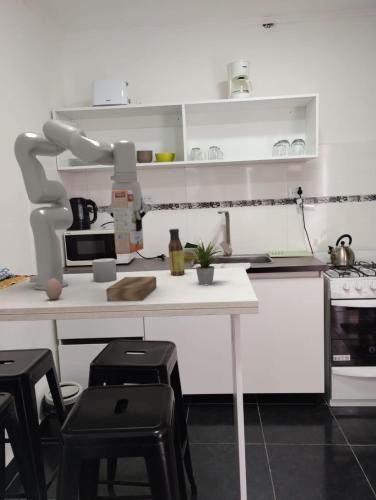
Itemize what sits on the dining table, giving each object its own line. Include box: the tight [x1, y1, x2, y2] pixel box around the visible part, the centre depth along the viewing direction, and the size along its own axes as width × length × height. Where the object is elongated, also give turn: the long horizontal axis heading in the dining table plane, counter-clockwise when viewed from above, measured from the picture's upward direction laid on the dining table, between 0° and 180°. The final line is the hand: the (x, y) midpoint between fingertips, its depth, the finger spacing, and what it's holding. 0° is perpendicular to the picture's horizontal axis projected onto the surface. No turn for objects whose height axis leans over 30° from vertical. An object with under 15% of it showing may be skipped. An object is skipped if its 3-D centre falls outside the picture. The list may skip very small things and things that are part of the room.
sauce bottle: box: [167, 228, 186, 276], centre depth 177 cm, size 6×6×20 cm
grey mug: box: [91, 258, 118, 284], centre depth 174 cm, size 9×13×9 cm
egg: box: [45, 278, 63, 301], centre depth 141 cm, size 5×5×7 cm
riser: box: [105, 275, 158, 302], centre depth 144 cm, size 12×20×4 cm, turn 171°
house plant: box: [189, 241, 225, 286], centre depth 154 cm, size 14×14×16 cm
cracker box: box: [111, 190, 144, 255], centre depth 141 cm, size 14×6×21 cm, turn 169°
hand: (129, 231), depth 142 cm, fingers closed on cracker box, 6 cm apart
